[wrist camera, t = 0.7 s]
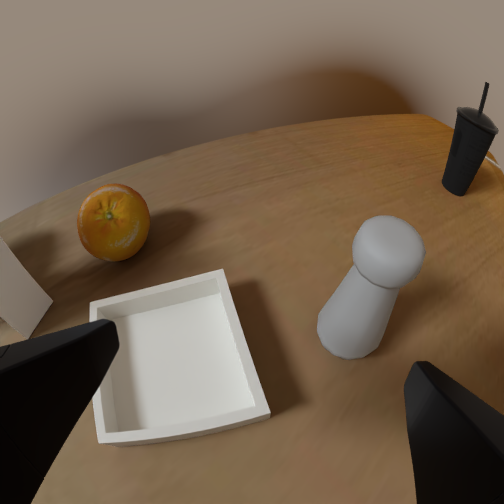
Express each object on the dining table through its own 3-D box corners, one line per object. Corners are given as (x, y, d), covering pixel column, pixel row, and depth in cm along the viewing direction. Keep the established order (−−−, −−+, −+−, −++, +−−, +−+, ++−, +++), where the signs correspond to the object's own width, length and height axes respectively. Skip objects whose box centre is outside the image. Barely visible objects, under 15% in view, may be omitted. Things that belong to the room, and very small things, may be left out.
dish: (269, 418, 19) (270, 412, 17) (117, 446, 17) (98, 443, 15) (226, 288, 28) (222, 268, 25) (104, 318, 25) (90, 302, 23)
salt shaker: (350, 299, 26) (393, 190, 16) (386, 345, 23) (458, 250, 13) (300, 327, 24) (324, 217, 15) (335, 379, 21) (397, 297, 11)
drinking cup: (467, 208, 35) (509, 97, 20) (430, 184, 39) (462, 72, 23) (473, 190, 38) (508, 93, 23) (440, 169, 42) (467, 71, 27)
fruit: (137, 281, 28) (107, 228, 22) (82, 266, 30) (52, 218, 24) (169, 226, 34) (152, 172, 28) (116, 219, 35) (95, 170, 29)
